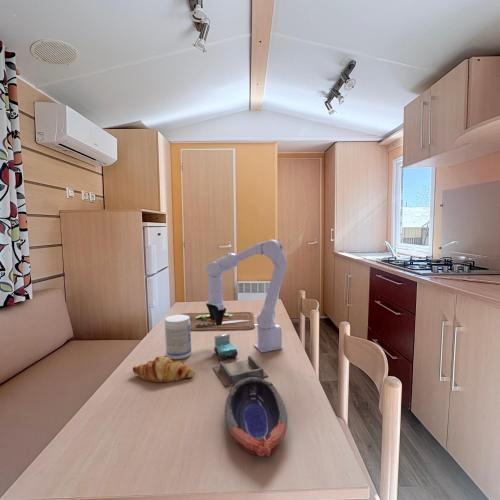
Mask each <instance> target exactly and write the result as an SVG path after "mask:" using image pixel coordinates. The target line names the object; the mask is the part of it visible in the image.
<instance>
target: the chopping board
mask: <svg viewBox="0 0 500 500" xmlns="http://www.w3.org/2000/svg"><path fill="white" fill-rule="evenodd" d="M180 315H187V316H189V317H190V330H191V332H204V331H205V332H207V331H208V332H211V331H214V332H215V331H251V330H254V329H255V327H256V326H257V325H258V324H255V318H257V317H258V316H259V314H258V315H254V313H253V312H251V311H236V312H235V311H231V312H230V311H229V312H227V311H226V312H225V313H224V316H223V320H222V324H221V325H218V326H217V325H216V323H215V320H211V318H210V313H209V312H184V313H181V314H180Z"/></svg>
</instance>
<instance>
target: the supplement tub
mask: <svg viewBox="0 0 500 500" xmlns="http://www.w3.org/2000/svg"><path fill="white" fill-rule="evenodd" d="M191 332H192V331H191V330H190V317H189V316H187V315H181V314H175V315H169V316H167V317H165V318H164V333H165V334H164V335H165V339H164V340H165V354H166V357H168V358H170V359H171V360H182V359H186V358H188V357H189V356H190V355H191V354H192V338H191V337H192V335H191V334H192V333H191Z"/></svg>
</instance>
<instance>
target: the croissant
mask: <svg viewBox="0 0 500 500" xmlns="http://www.w3.org/2000/svg"><path fill="white" fill-rule="evenodd" d="M132 372H133V373H134V374H135V375H137V376H138V377H140V379H142V380H144V381H148V382H153V383H168V382H169V383H170V382H173V381H180V380H183V379H189V378H192V377H194V376H195V374H196V371H195V370H194V369H193V368H192V367H191V366H190V365H186V364H184V362H182V361H181V359H178V360H173V359H170V358H168V357H167V356H156V357H155V358H154V360H149V361H147V363H141V364H139V365H138V366H133V367H132Z"/></svg>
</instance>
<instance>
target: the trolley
mask: <svg viewBox="0 0 500 500" xmlns="http://www.w3.org/2000/svg"><path fill="white" fill-rule="evenodd" d="M213 338H214V348H213V351H214V353H215V354H218V358H219V360H221V361H223V360H226V359H227V356H229V357H231V358H233V359H234V358H237V357H238V350H237V347H235V346H234V344H232V342H231V339H230V338H231V337H230V333H228V334H227V333H226V334H221V335H216V336H214V337H213Z"/></svg>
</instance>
